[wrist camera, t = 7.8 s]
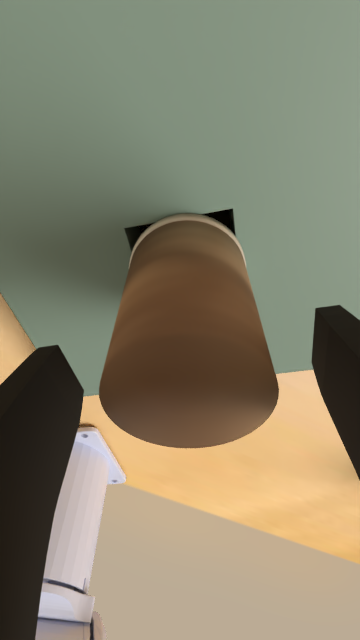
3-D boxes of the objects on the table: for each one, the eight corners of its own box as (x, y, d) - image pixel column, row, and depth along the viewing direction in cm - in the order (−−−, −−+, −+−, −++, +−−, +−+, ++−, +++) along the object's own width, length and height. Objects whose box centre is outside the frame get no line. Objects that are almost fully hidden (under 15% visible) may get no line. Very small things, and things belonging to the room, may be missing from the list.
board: (78, 365, 21) (67, 398, 19) (-160, -68, 10) (-248, -97, 8) (351, 329, 19) (371, 362, 17) (453, -275, 7) (546, -386, 6)
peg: (152, 288, 17) (130, 456, 10) (124, 202, 14) (65, 350, 7) (241, 272, 16) (283, 439, 9) (230, 178, 14) (276, 316, 7)
